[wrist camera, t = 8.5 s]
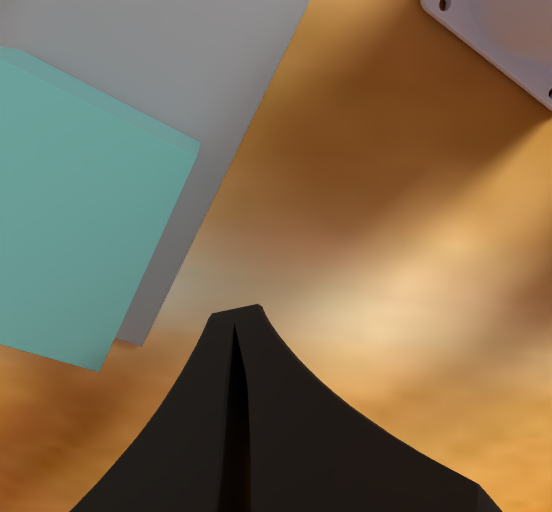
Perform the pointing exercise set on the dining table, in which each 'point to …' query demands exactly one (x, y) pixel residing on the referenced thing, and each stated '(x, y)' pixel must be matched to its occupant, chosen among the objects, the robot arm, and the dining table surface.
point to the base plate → (166, 89)
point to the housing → (77, 208)
